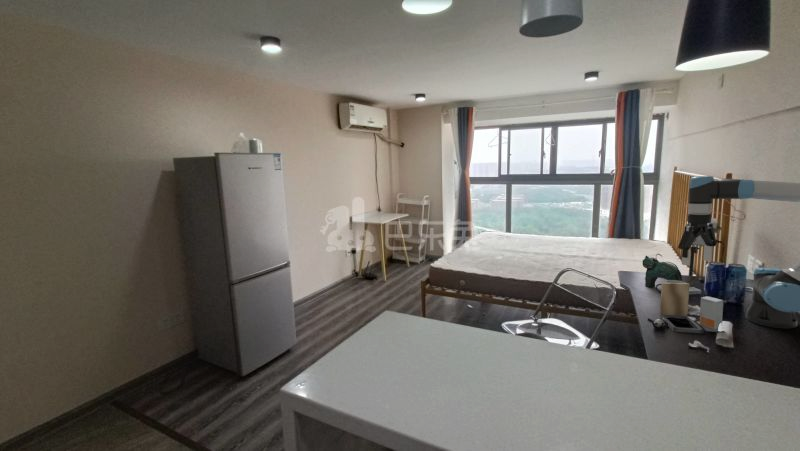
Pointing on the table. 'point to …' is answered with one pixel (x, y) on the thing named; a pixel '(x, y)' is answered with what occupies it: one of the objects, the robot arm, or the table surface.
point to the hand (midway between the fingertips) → (696, 262)
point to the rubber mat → (707, 328)
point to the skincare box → (711, 312)
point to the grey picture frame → (676, 329)
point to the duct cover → (674, 298)
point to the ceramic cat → (659, 271)
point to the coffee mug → (670, 282)
